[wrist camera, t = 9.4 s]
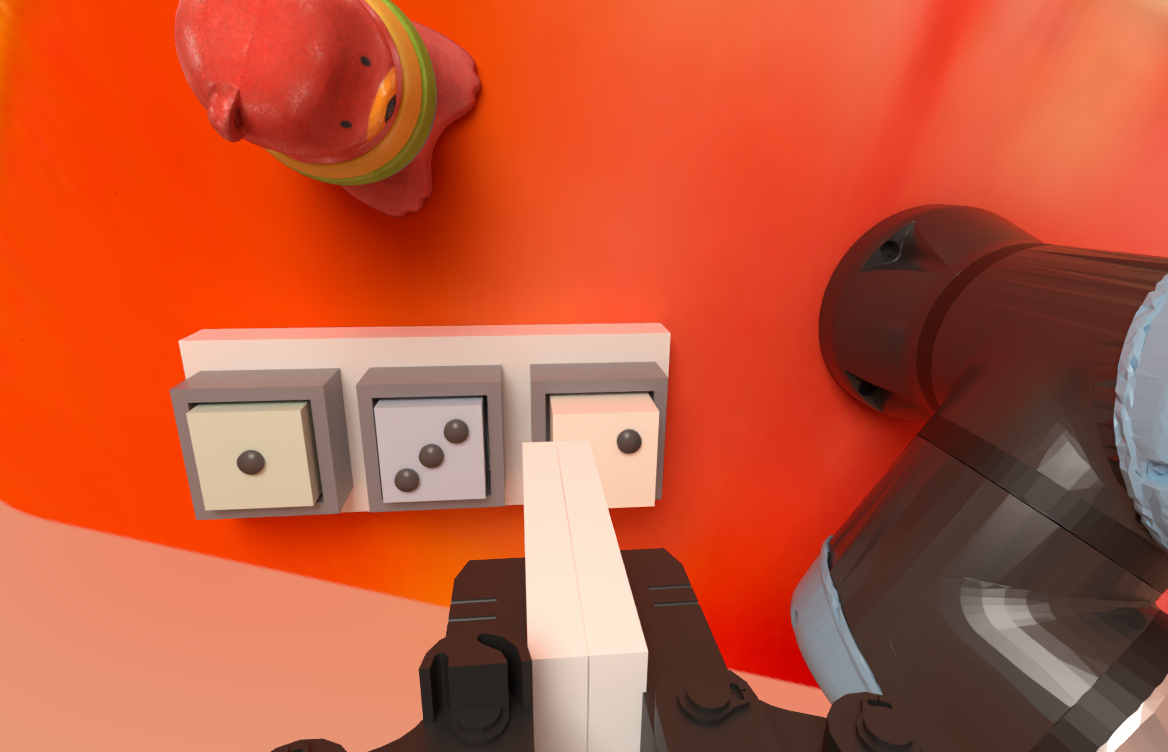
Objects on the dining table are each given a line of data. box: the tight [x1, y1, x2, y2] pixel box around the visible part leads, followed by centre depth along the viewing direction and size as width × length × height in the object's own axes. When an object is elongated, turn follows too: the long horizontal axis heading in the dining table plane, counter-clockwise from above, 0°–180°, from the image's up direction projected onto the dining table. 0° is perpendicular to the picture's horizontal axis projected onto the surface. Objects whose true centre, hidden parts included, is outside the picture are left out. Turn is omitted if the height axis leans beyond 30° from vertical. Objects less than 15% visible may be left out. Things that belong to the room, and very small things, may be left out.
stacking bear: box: [175, 0, 481, 217], centre depth 28 cm, size 11×10×18 cm
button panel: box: [170, 323, 671, 520], centre depth 40 cm, size 30×12×6 cm, turn 90°
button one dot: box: [186, 400, 322, 511], centre depth 37 cm, size 6×6×4 cm
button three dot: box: [374, 395, 488, 503], centre depth 38 cm, size 6×6×4 cm
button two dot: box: [549, 391, 659, 508], centre depth 37 cm, size 6×6×4 cm
